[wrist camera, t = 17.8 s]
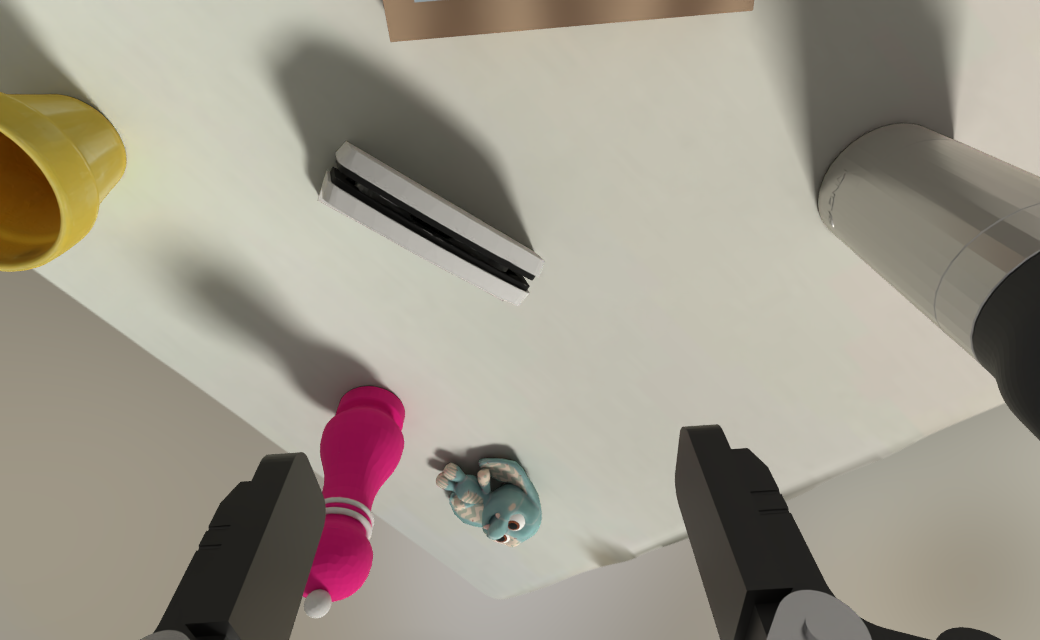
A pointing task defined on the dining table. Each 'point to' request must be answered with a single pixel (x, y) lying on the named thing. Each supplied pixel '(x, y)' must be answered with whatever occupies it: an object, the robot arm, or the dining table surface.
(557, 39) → the dining table surface
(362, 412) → the pepper mill
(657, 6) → the wooden block
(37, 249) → the plant pot
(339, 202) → the white game console
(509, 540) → the stuffed animal
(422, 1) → the link
